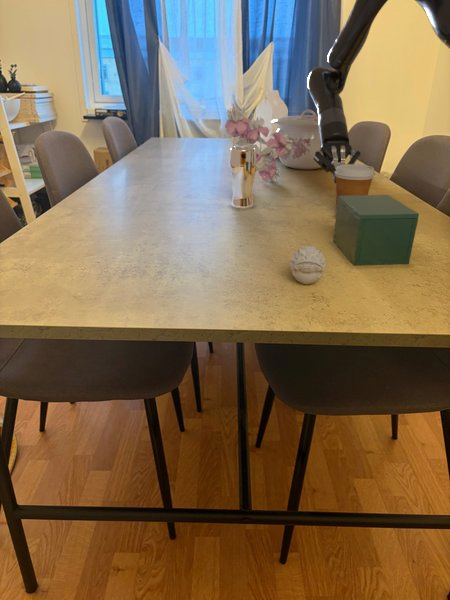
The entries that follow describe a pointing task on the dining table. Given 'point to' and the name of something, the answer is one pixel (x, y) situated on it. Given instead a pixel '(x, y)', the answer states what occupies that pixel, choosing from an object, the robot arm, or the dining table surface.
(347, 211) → the green box
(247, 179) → the beer glass
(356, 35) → the robot arm
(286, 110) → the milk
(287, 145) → the flower
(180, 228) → the dining table surface
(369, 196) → the bread bin lid
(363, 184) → the disposable coffee cup
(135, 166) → the dining table surface
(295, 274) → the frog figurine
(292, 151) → the chamber pot
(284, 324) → the dining table surface
